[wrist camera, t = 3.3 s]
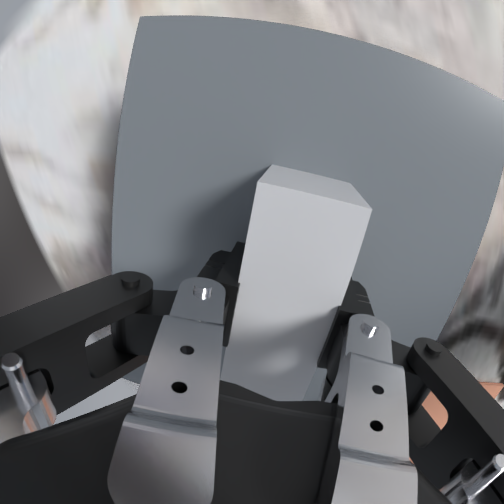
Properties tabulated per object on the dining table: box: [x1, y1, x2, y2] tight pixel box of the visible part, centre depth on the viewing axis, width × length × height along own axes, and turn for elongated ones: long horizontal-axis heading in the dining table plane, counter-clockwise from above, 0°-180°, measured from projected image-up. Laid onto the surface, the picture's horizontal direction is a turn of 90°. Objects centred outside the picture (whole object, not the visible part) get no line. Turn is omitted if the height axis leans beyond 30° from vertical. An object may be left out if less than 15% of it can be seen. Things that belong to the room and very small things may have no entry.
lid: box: [112, 16, 504, 401], centre depth 12 cm, size 16×19×6 cm
